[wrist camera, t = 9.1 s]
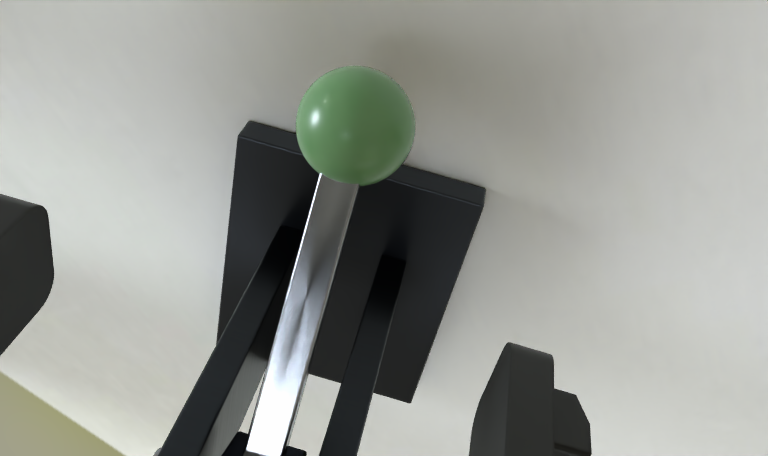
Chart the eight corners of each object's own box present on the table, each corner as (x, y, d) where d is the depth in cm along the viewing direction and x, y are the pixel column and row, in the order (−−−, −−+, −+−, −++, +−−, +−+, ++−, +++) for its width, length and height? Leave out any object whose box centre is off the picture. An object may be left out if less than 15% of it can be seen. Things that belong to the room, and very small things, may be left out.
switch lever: (322, 60, 21) (304, 42, 17) (428, 90, 20) (430, 78, 17) (202, 503, 22) (165, 561, 19) (301, 533, 22) (281, 596, 19)
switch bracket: (248, 119, 26) (53, 378, 16) (486, 187, 26) (447, 495, 15) (225, 328, 32) (76, 607, 22) (414, 384, 32) (353, 691, 22)
